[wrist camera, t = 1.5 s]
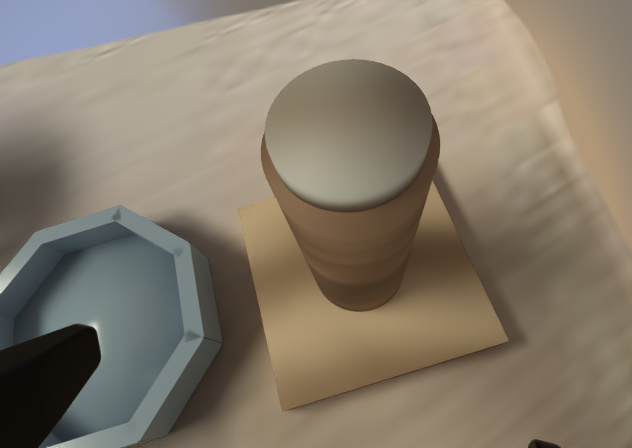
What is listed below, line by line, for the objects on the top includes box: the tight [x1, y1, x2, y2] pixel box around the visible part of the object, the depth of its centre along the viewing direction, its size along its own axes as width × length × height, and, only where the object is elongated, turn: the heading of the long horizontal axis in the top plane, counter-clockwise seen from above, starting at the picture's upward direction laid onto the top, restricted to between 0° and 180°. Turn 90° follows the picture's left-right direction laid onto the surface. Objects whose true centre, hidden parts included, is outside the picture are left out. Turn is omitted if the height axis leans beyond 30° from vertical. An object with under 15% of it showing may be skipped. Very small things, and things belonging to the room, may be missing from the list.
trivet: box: [238, 180, 509, 411], centre depth 21 cm, size 11×11×1 cm
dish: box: [0, 205, 223, 448], centre depth 20 cm, size 12×12×3 cm
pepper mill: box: [261, 59, 440, 312], centre depth 15 cm, size 5×5×12 cm
